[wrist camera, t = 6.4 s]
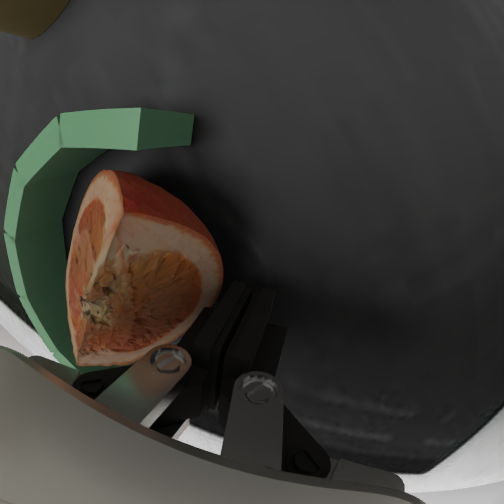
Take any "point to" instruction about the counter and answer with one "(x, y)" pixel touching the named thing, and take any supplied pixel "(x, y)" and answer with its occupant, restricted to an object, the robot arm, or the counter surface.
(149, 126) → the green segmented arc
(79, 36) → the counter surface
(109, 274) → the fruit slice
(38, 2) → the cork
